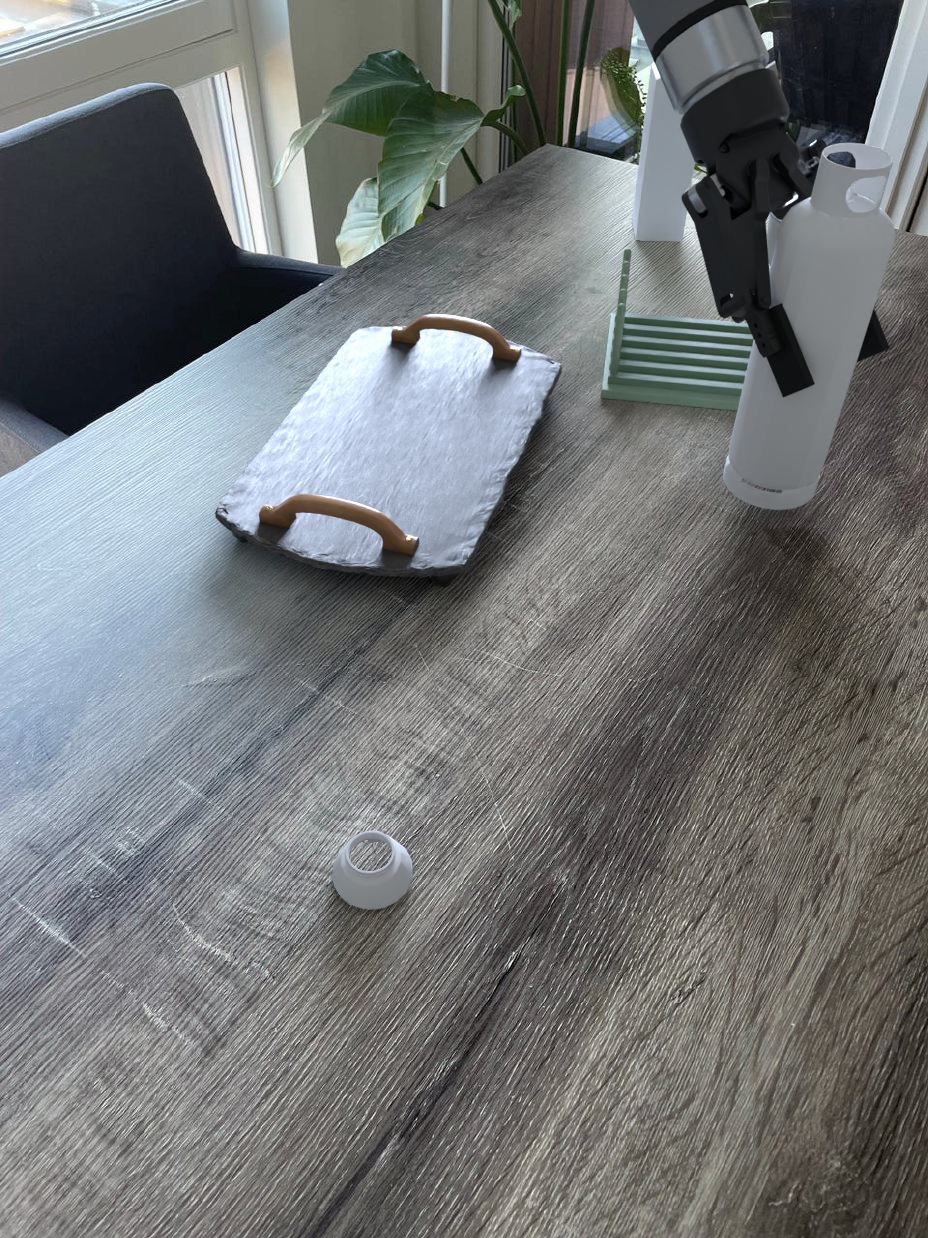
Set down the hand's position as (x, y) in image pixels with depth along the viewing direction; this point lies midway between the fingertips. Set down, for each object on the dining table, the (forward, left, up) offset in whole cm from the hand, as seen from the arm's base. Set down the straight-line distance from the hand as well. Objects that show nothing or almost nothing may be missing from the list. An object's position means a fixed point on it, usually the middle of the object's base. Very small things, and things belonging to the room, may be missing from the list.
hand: (836, 372), depth 78 cm
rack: (+8, -24, -15) cm, 30 cm away
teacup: (-5, -49, -15) cm, 52 cm away
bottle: (+2, -2, -13) cm, 13 cm away
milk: (+13, -56, -15) cm, 60 cm away
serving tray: (+35, -3, -15) cm, 39 cm away
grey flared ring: (+28, +41, -15) cm, 52 cm away
